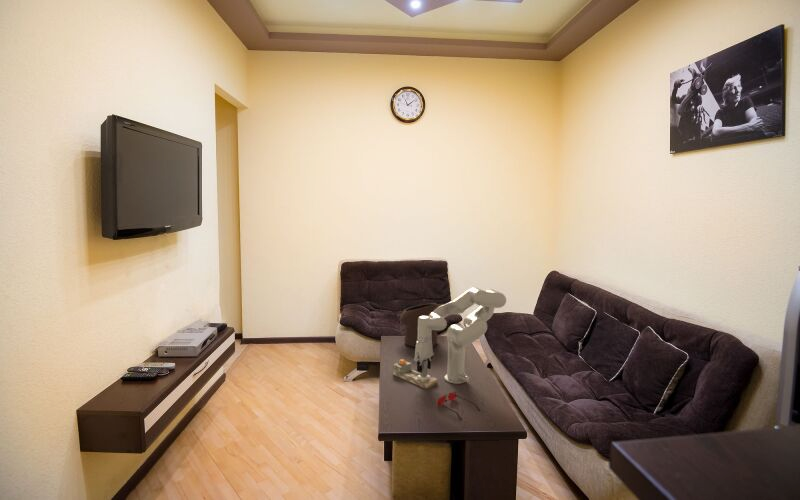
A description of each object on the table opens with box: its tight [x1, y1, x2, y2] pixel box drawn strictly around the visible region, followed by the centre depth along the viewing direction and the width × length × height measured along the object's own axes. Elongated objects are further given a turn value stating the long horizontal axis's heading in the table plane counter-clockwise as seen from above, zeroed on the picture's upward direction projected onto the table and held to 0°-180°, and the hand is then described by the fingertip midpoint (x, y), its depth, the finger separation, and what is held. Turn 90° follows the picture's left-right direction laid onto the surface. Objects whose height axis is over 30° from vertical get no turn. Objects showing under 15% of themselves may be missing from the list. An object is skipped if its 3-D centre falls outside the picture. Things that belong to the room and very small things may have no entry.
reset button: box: [398, 359, 406, 366], centre depth 237 cm, size 4×4×3 cm
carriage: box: [417, 359, 431, 381], centre depth 224 cm, size 5×5×12 cm
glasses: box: [436, 391, 481, 421], centre depth 197 cm, size 14×16×5 cm
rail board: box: [392, 361, 438, 390], centre depth 230 cm, size 26×9×6 cm, turn 44°
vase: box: [399, 302, 439, 348], centre depth 291 cm, size 27×27×30 cm
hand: (423, 369), depth 224 cm, fingers open, 6 cm apart
